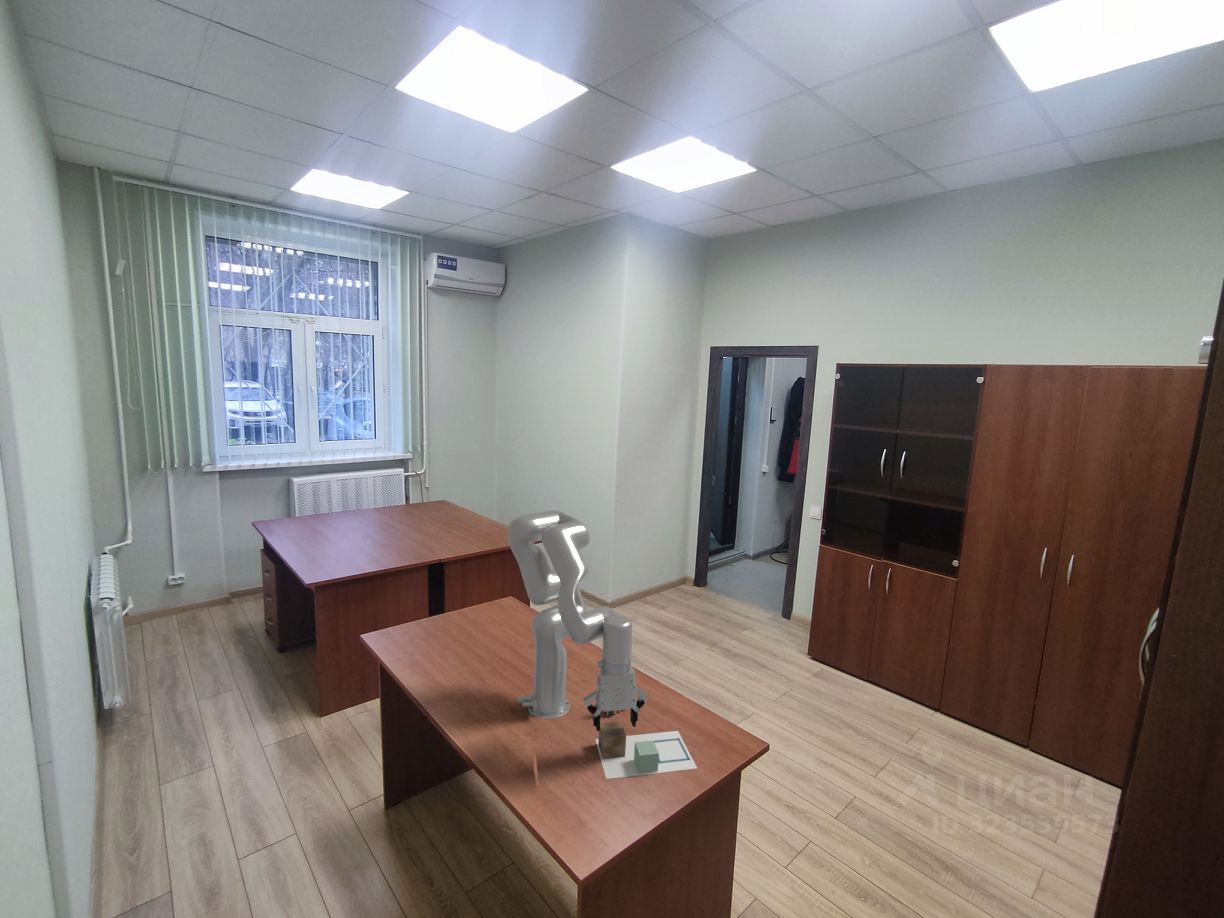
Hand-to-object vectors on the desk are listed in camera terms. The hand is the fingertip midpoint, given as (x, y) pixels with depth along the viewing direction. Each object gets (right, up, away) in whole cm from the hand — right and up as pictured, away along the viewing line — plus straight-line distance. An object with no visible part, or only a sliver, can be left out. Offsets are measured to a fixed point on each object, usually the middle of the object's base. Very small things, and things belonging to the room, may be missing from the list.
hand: (615, 725), depth 140 cm
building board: (+8, -9, +1) cm, 12 cm away
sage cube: (+8, -9, -3) cm, 12 cm away
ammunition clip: (+2, -6, +20) cm, 21 cm away
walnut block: (-1, -7, +2) cm, 8 cm away
